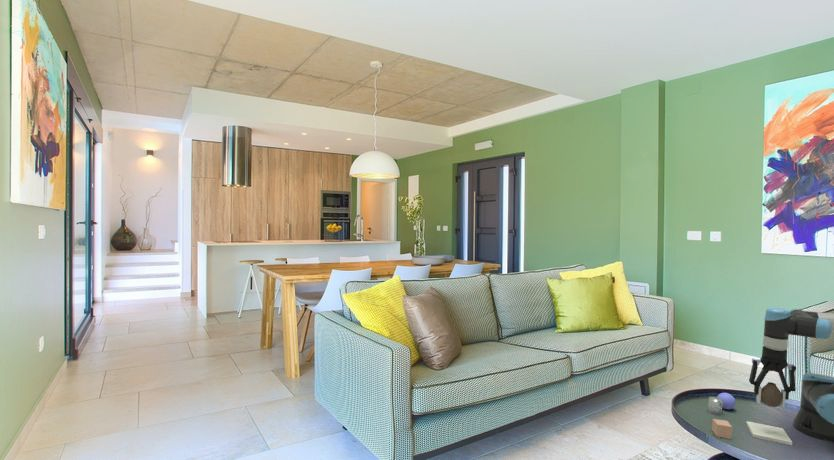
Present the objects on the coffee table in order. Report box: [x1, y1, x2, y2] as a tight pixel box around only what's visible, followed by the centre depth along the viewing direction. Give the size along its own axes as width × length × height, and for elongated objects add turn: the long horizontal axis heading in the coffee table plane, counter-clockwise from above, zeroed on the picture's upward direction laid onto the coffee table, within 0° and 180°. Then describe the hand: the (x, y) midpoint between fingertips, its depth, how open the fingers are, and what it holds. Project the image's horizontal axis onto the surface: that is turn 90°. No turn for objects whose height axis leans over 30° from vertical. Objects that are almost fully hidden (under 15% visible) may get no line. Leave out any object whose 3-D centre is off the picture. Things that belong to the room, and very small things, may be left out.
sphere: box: [716, 392, 737, 410], centre depth 197 cm, size 7×7×7 cm
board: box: [745, 420, 793, 446], centre depth 175 cm, size 12×12×1 cm
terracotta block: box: [711, 418, 733, 440], centre depth 174 cm, size 5×5×5 cm
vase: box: [761, 381, 782, 408], centre depth 174 cm, size 7×7×9 cm
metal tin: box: [707, 396, 723, 416], centre depth 193 cm, size 5×5×6 cm
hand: (770, 404), depth 175 cm, fingers closed on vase, 7 cm apart
